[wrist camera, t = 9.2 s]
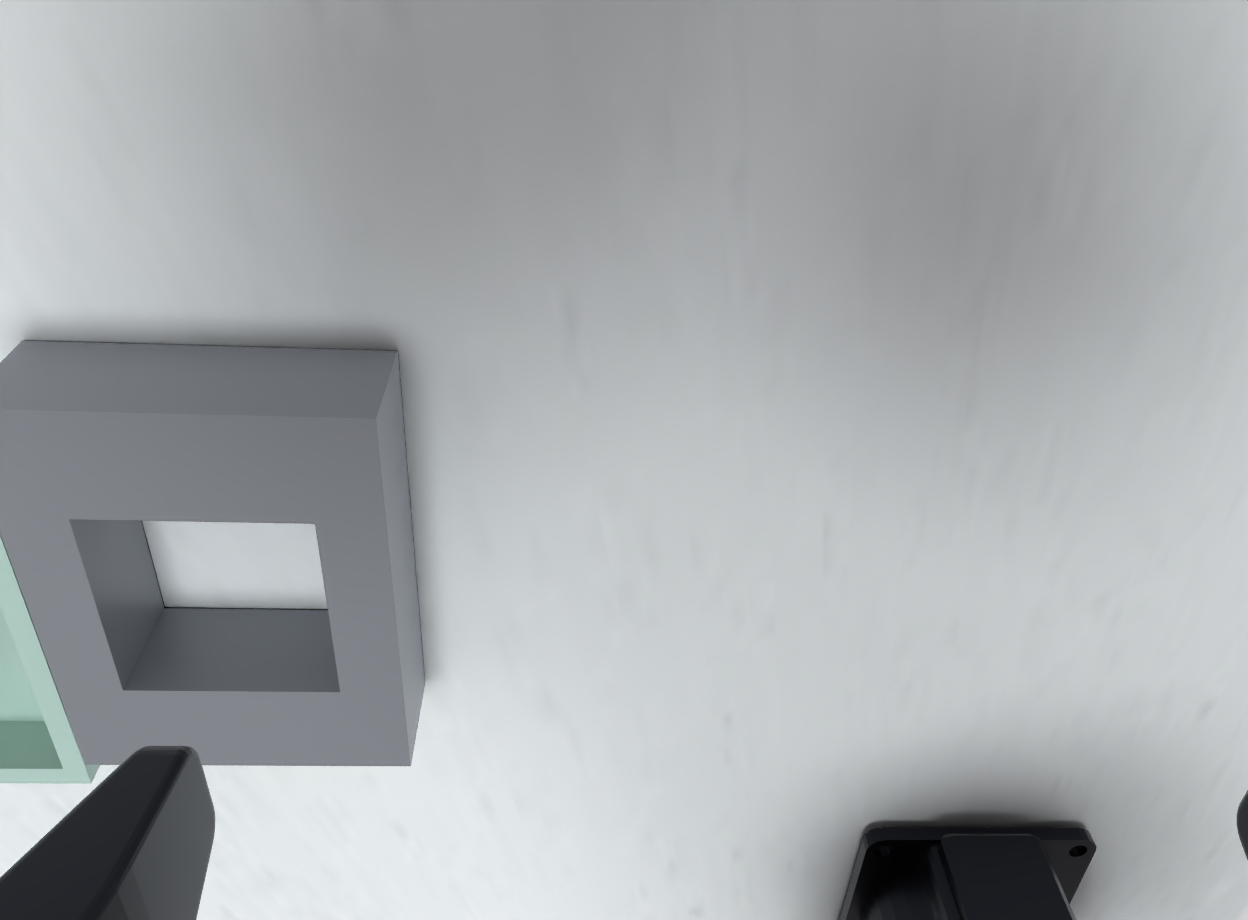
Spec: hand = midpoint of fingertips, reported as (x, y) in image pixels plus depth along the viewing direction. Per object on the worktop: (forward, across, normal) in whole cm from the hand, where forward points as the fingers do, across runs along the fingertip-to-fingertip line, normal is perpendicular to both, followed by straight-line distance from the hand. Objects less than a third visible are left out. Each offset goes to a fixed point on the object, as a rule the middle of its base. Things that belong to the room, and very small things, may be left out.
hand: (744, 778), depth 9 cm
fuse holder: (+12, +8, +7) cm, 16 cm away
